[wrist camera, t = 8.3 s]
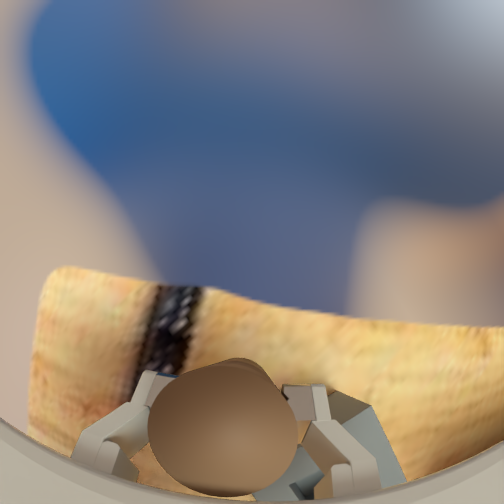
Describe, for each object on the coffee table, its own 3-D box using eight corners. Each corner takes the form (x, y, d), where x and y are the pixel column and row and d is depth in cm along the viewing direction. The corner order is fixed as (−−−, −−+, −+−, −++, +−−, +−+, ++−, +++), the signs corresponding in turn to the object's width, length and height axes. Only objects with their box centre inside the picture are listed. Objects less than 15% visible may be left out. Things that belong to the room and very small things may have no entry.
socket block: (374, 461, 20) (410, 490, 12) (287, 507, 18) (298, 550, 11) (337, 390, 23) (371, 405, 15) (241, 438, 21) (237, 473, 14)
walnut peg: (280, 399, 14) (322, 462, 5) (225, 424, 14) (192, 510, 4) (252, 347, 15) (255, 341, 6) (198, 372, 15) (123, 397, 5)
